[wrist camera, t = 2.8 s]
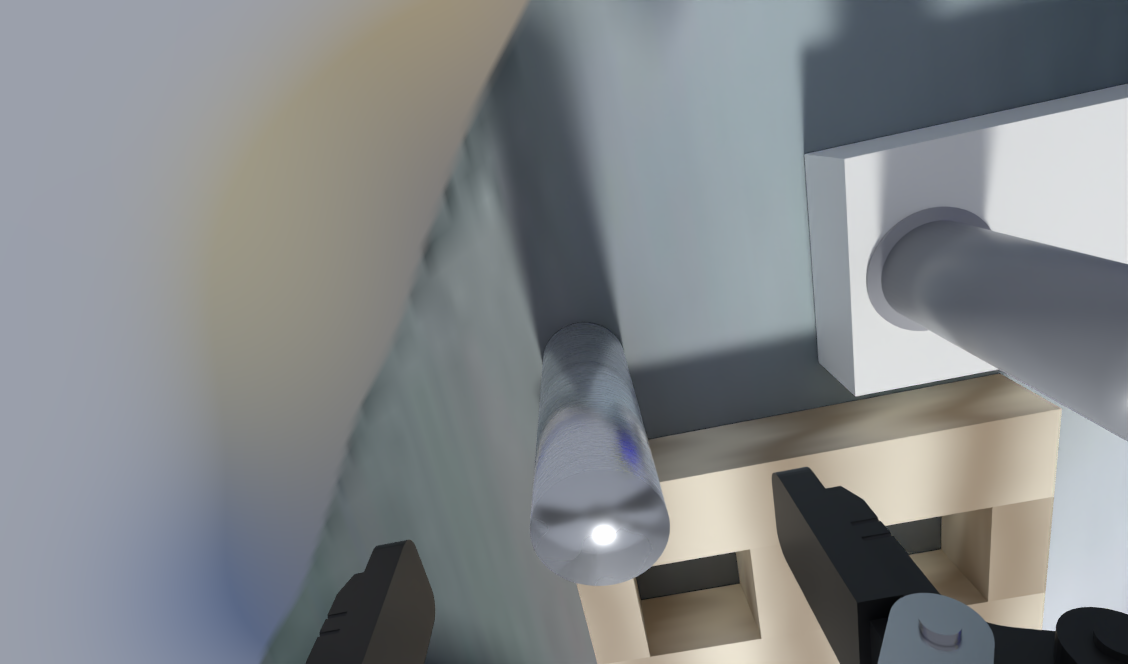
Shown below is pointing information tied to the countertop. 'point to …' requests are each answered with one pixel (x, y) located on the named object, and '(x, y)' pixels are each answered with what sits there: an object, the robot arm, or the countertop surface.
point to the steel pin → (593, 465)
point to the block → (980, 253)
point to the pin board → (874, 473)
